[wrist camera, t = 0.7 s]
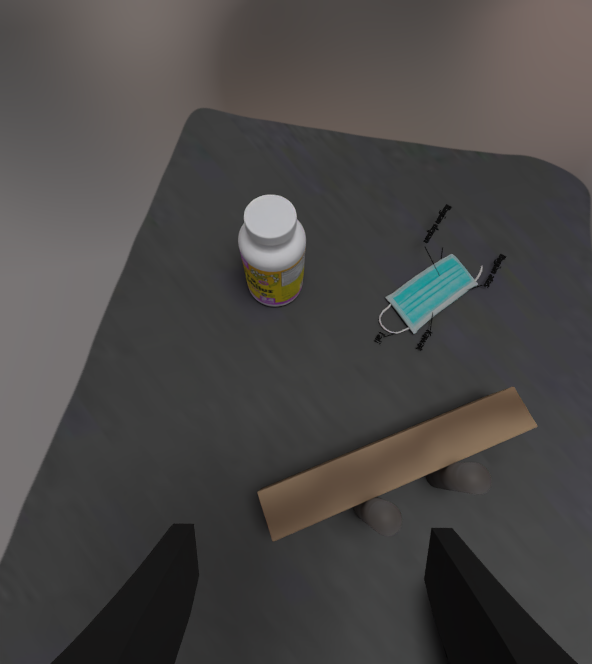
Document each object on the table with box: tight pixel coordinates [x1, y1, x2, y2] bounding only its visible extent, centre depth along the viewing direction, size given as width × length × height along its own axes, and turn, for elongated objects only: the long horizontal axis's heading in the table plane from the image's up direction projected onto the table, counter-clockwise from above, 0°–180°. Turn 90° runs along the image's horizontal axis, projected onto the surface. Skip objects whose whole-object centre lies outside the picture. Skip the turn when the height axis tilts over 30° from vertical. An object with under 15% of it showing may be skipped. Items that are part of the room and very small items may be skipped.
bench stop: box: [257, 387, 538, 542], centre depth 32 cm, size 6×26×8 cm, turn 111°
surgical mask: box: [374, 204, 506, 350], centre depth 41 cm, size 21×4×10 cm
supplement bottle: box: [238, 195, 306, 307], centre depth 37 cm, size 7×7×13 cm
